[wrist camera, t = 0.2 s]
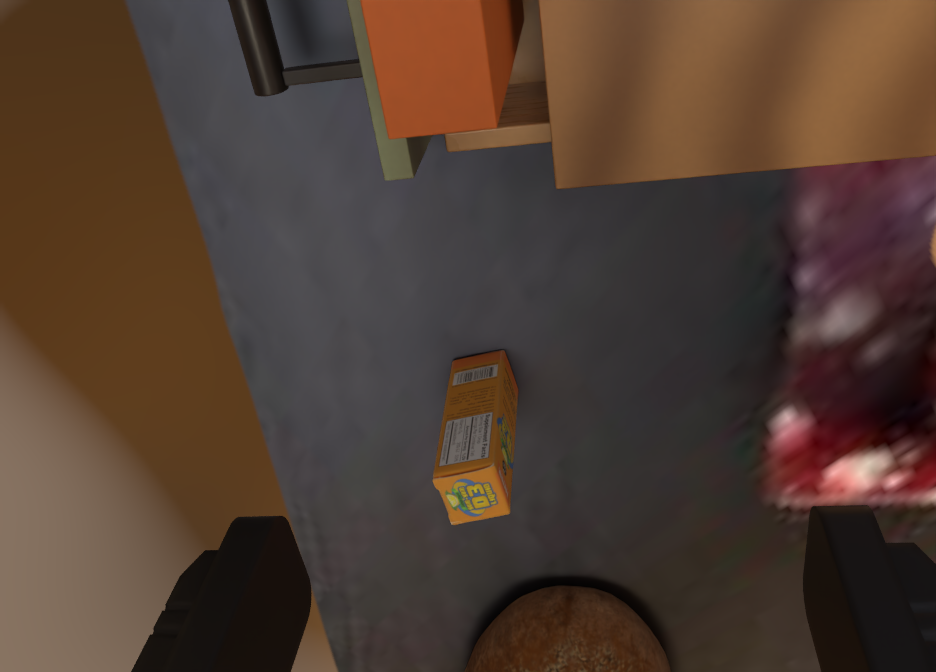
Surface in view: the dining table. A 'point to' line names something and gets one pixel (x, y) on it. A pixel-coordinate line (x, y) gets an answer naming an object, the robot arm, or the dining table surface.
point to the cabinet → (734, 85)
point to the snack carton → (442, 62)
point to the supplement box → (477, 438)
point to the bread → (568, 635)
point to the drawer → (399, 157)
